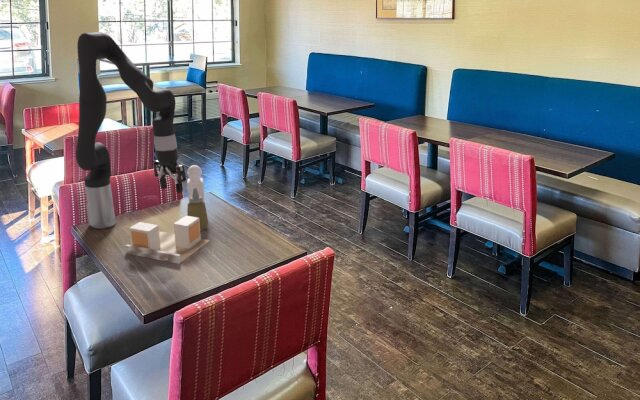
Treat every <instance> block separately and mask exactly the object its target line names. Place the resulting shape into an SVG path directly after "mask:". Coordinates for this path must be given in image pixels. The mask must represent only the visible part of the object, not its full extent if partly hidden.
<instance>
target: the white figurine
mask: <svg viewBox="0 0 640 400" xmlns="http://www.w3.org/2000/svg"><path fill="white" fill-rule="evenodd" d="M202 174H203V171H202V169H201V167H200V166H198V165H197V164H192V165H191V166H189V167H188V169H187V172H186V175H187V176H188V178H186V188H187V189H186V191H187V199H188V203H189V202H190V197H191V196H192V195H193V189H194V188H197V191H198V194H199V196H202V201H203V202H204V203H205V187H204V185H205V184H204V183H205V182H204V177H202Z"/></svg>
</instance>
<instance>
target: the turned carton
mask: <svg viewBox="0 0 640 400" xmlns="http://www.w3.org/2000/svg"><path fill="white" fill-rule="evenodd" d="M173 230H174V233H173V234H175V243H176V246H177V247H182V248H187V249H189V248H191V247H192V246H194V245H195V244H196V243H198V242H199V241H200V240H201V239H202V237H201V236H202V235H201V231H200V221H199V218H198V217H192V216H187V215H185V216H183V217H181V218H180V219H178V220H176V221H175V222H174V223H173Z"/></svg>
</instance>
